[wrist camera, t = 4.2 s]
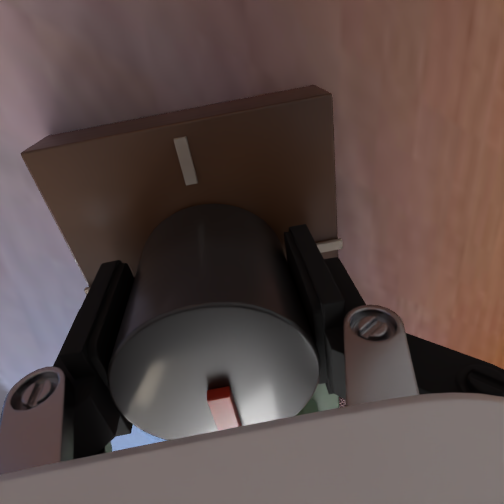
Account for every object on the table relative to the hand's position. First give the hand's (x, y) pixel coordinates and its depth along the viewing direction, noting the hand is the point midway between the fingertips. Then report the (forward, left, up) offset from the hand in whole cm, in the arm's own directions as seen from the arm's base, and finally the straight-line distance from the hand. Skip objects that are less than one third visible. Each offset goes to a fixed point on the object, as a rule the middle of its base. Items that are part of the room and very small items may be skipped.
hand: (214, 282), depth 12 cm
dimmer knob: (0, 0, -1) cm, 1 cm away
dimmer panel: (0, 0, -3) cm, 3 cm away
